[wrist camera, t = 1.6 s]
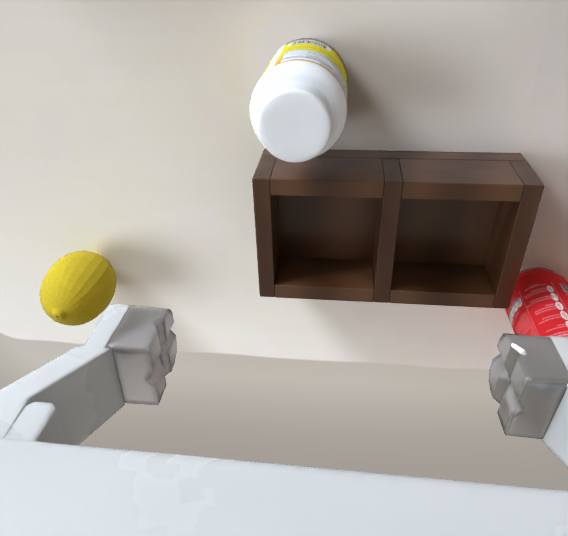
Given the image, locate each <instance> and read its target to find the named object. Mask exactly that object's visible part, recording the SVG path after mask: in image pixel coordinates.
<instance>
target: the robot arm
mask: <svg viewBox="0 0 568 536" xmlns="http://www.w3.org/2000/svg"><path fill="white" fill-rule="evenodd" d="M173 322H174V320H173V314H172V311H171V310H170V309H164V308H154V307H143V306H133V305H132V306H130V305H119V304H112V305H110V306H109V307H108V308H107V310H106V311H105V313H104V315H103V316H102V318H101V319H100V321H99V323H98V324H97V326H96V327H95V329H94V331H93V332H92V334H91V335H90V337H89V339H88V340H87V342H86V343H85V345H84V346H77V347H75V348H73V349H72V350H70V351H68V352H66V353H65V354H63V355H61V356H59V357H58V358H56V359H54V360H52V361H51V362H49V363H47V364H45V365H44V366H42V367H40V368H38V369H37V370H35V371H33V372H31V373H29V374H28V375H26V376H24V377H23V378H21V379H19V380H17V381H15V382H14V383H12V384H10V385H8V386H7V387H5V388H3V389H1V390H0V536H568V491H563V490H552V489H542V488H531V487H519V486H509V485H508V486H507V485H498V484H487V483H477V482H466V481H456V480H444V479H434V478H424V477H413V476H402V475H392V474H382V473H371V472H360V471H349V470H338V469H326V468H316V467H305V466H294V465H284V464H273V463H262V462H252V461H241V460H229V459H219V458H208V457H197V456H186V455H176V454H165V453H155V452H144V451H133V450H122V449H111V448H101V447H90V446H79V444H80V443H81V442H83V441H84V440H85V439H86V438H87V437H88V436H89V435H90V434H92V433H93V432H94V431H95V430H96V429H97V428H99V427H100V426H101V425H102V424H103V423H104V422H105V421H107V420H108V419H109V418H110V417H111V416H112V415H114V414H115V413H116V412H117V411H118V410H119V409H120V408H122V407H123V406H124V403H133V404H149V405H158V404H159V402H160V399H161V397H162V394H163V392H164V389H165V387H166V380H165V376H166V375H167V374H168V373H169V372H171V371H172V368H173V366H174V363H175V357H176V352H177V342H176V335H175V334H174V333H173V332H172V331H171V327H172V325H173ZM497 346H498V349H499V352H500V354H499V355H498V356H497V357H495V358H494V359H493V360H492V363H491V367H490V372H489V384H490V390H491V393H492V396H493V398H494V399H495V400H496V401H497V402H498V403H500V407H499V409H498V415H499V418H500V421H501V424H502V427H503V430H504V433H505V435H510V436H519V437H528V438H537V439H543V440H542V441H543V442H544V443H545V444H546V445H547V447H549V449H551V451H552V452H553V453H554V454H555V455H556V456H557V457H558V458H559V459H560V460H561V461H562V462H563V463H564V464H565V465H566V466H567V467H568V337H559V336H534V335H519V334H503V335H502V336H501V337H500V340H499V342H498V345H497Z"/></svg>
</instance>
